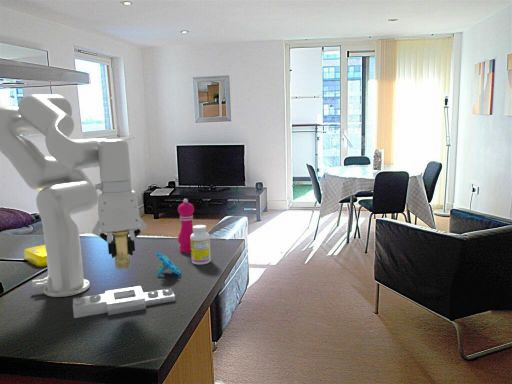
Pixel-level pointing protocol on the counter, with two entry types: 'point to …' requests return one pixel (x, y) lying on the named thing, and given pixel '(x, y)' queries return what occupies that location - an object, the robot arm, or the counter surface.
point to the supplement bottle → (200, 245)
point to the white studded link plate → (120, 301)
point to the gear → (166, 264)
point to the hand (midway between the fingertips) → (122, 254)
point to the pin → (121, 249)
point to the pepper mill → (185, 225)
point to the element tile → (36, 255)
